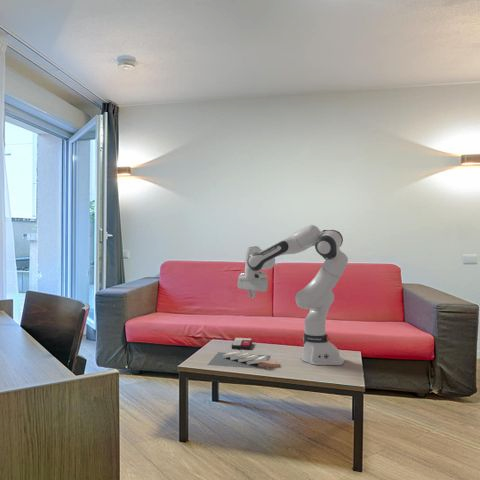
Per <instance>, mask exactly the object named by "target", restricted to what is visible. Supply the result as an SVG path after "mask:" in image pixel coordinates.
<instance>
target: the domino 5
mask: <svg viewBox="0 0 480 480" xmlns="http://www.w3.org/2000/svg"><path fill="white" fill-rule="evenodd" d="M258 366H259V367H266V368H279V362H278V360H269V361H263V362H259V363H258Z"/></svg>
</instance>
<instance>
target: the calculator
mask: <svg viewBox="0 0 480 480" xmlns="http://www.w3.org/2000/svg"><path fill="white" fill-rule="evenodd" d="M252 345H253V339H252V338H246V337H245V338H244V337H235V338H234V339H233V342H232V344H231V350H242V351H243V350H244V351H245V350H246V351H248V350H250V351H251V348H252Z"/></svg>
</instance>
